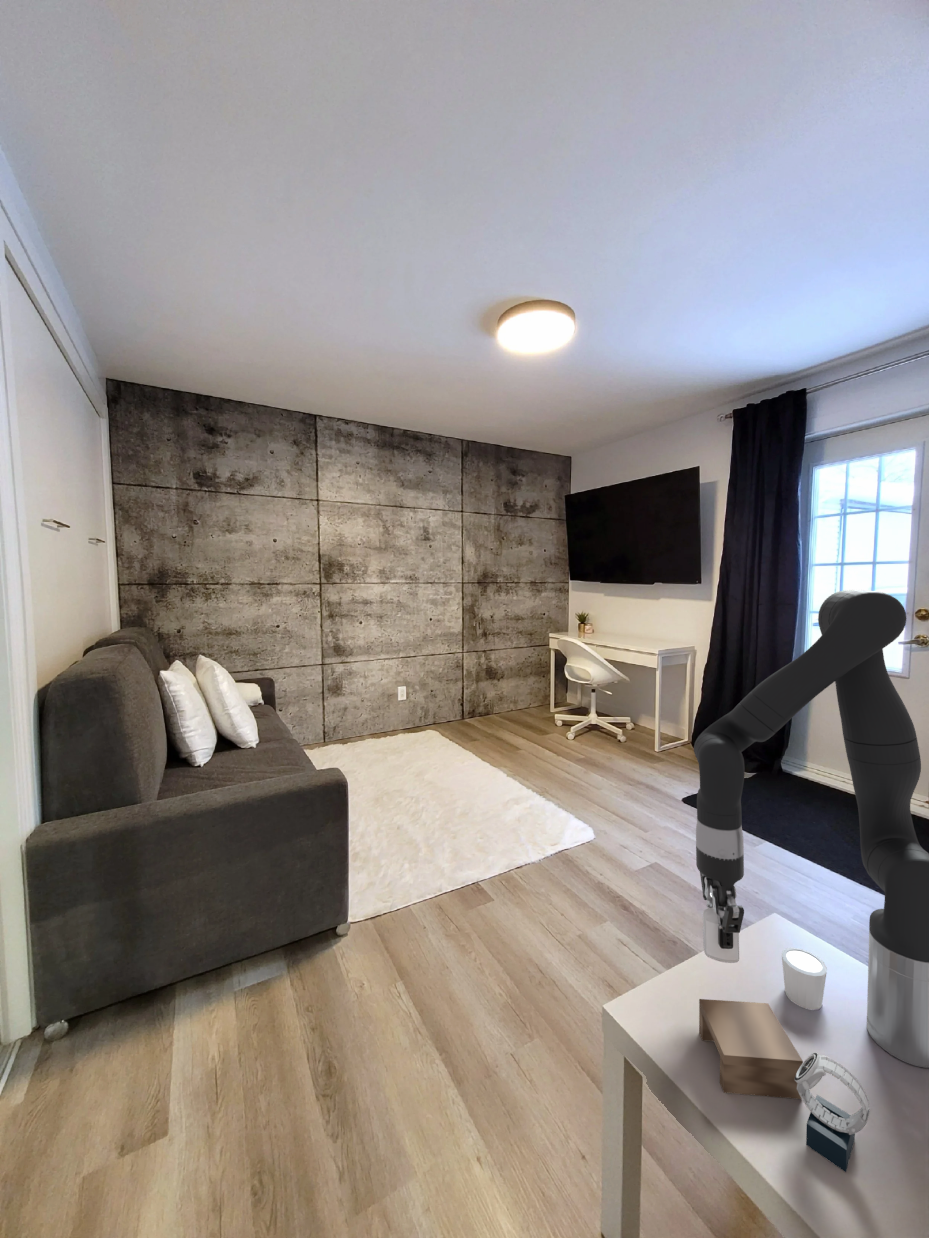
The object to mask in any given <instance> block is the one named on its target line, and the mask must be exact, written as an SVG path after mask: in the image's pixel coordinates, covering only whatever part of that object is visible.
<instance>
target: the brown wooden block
mask: <svg viewBox="0 0 929 1238" xmlns="http://www.w3.org/2000/svg"><path fill="white" fill-rule="evenodd" d="M698 1004H699V1005H698V1006H699V1008H698V1011H699V1012H698V1025H699V1026H698V1032H699V1033H698V1034H699V1035H700V1038H701V1040H702V1041H704V1042H714V1045H715V1047H716V1049H717V1052H718V1054H719V1084H720V1087H721V1089H722V1092H723V1094H724V1093H725V1094H733V1095H734V1094H737V1095H746V1096H760V1097H768V1098H769V1097H771V1098H782V1099H793V1100H795V1099H796V1100H802V1099H801V1097H800V1095H799V1092H798V1091H797V1084H798V1083H797V1082H796V1081H795V1075H796V1073H797V1071H798V1069H799V1067H800V1066H801V1065H802V1063H803V1062H804V1061H803V1059H802V1057H801V1056H800V1054H799V1052H798V1051H797V1049H796V1047H795V1045H794V1044H793V1042H792V1040H791V1038H790V1037H789V1035H788V1034H787V1032H786V1030H785V1029H784V1027H783V1025H782V1024H781V1022H780V1020H779V1018H778V1017H777V1015H776V1014H775V1012H774V1011H773V1009H772V1008H771V1006H770V1004H769V1003H767V1002H751V1001H736V1000H723V999H722V1000H720V999H705V998H699V1002H698Z"/></svg>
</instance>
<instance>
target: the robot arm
mask: <svg viewBox="0 0 929 1238" xmlns="http://www.w3.org/2000/svg"><path fill="white" fill-rule="evenodd" d="M817 617H818V618H817V621H818V627H819V630H820V633H821V636H820V637H819V638H818V639H817V640H816V641H815V642H814V643H813V644H812V645H811V646H810V647H809V648H807V650H805V651H804V652H803V653H802V654H801V655H799V656H798V657H796V658H795V659H793V660H792V661H791V662H789V663H788V664H786V665H785V666H783V667H781V668H780V669H778V670H777V671H775V672H774V673H772V674H771V675H768V676H767V678H765V679H764V680H762V681H761V682H760V683H759V684H757V685H756V686H755V687H754V688H753V689H752V690H751V691H750V692H749V693H748V694H747V695H746V696H744V697H743V698H742V700H740V702H739V703H738V704H737V705H736V706H734V708H733V709H732V710H731V711H729V712H728V713H727V714H725V715H723V716H722V717H720V718H719V719H717V720H716V721H714V722H713V723H712V724H710V725H709V726H708V727H707V728H705V729H704V730H702V732H701V733H700V734H699V735H698V736H697V738H696V740H695V742H694V746H693V753H694V756H695V757H696V761H697V763H698V769H699V789H698V791H697V794H696V795H697V796H696V815H697V816H696V826H695V857H696V859H695V860H696V868H697V870H698V872H699V874H700V883H701V890H702V897H703V900H704V901H706V909H708V908H712V907H713V909H714V911H715V912H716V914H717V919H718V944H719V946H720V947H721V948H722V949H732V948H733V933H739V934H740V932H741V929H742V925H743V924H742V923H743V919H744V914H745V909H744V906H742V905H737V903H736V898H737V889H736V885H735V884H736V883H737V882H739V881H741V880H742V879H743V877H744V875H745V863H744V862H745V861H744V855H745V854H744V852H745V851H744V850H745V849H744V832H743V828H742V827H743V826H742V803H741V802H742V801H741V800H742V795H743V790H744V789H743V788H744V783H745V772H746V771H745V759H744V756H743V753H742V752H744V751H745V750H746V749H747V748H748V747H750V746H751V745H753V744H754V743H756V742H757V743H763V742H767V740H769V739H770V738H771V737H773V736H774V735H775V734H776V733H778V731H779V730H780V729H782V728H783V727H784V726H785V725H786V724H787V723H789V721H790V720H791V719H792V718H793V717H794V716H795V715H797V714H798V713H799V712H800V711H801V710H802V709H803V708H805V706H807V704H809V703H810V702H811V701H812V700H813V699H815V698H816V697H817V696H819V694H820V693H822V692H823V691H824V690H825V689H827V688H829V686H830V685H832V684H833V683H834V684H835V691H836V697H837V704H838V711H839V715H840V721H841V728H842V729H841V730H842V738H843V742H844V747H845V752H846V753H845V754H846V758H847V761H848V762H847V763H848V765H849V766H848V767H849V769H850V776H851V781H852V786H853V790H854V795H855V799H856V804H857V808H858V809H857V810H858V821H859V823H858V824H859V836H860V838H859V840H860V854H861V860H862V864H863V867H864V869H865V870H866V873H867V874H868V876H869V877H870V878H871V880H872V881H873V882H874V883H875V884H876V885H877V886H878V887H879V888H880V889H881V890H882V891H883V892H884V903H883V908H878V909H875V910H874V911H872V912H871V913H870V916H869V922H868V923H869V924H868V925H869V927H868V930H869V931H868V961H867V963H868V966H867V967H868V968H867V995H866V996H867V1003H866V1004H867V1005H866V1030H867V1031H868V1034H869V1036H870V1037H871V1038H872V1039H873V1041H874V1042H875V1043H876V1045H878V1046H879V1047H880V1048H882V1049H883V1050H884V1051H886V1052H887V1053H888V1054H890V1055H891V1056H893V1057H895V1058H896V1059H898V1060H900V1061H902V1062H904V1063H907V1064H909V1065H911V1066H915V1067H920V1068H926V1069H927V1068H929V852H928V851H926V850H925V849H924V848H923V847H922V846H921V845H920V842H919V840H918V837H917V834H916V830H915V827H914V823H913V817H912V813H911V804H912V803H911V802H912V801H911V800H912V798H913V794H914V793H915V789H916V788H917V786H918V782H919V780H920V777H921V773H922V772H921V771H922V763H921V760H922V759H921V753H920V752H921V751H920V747H919V742H918V738H917V732H916V729H915V726H914V722H913V721H912V720H913V719H912V718H911V715H910V714H909V711H908V709H907V707H906V705H905V703H904V701H903V699H902V698H901V696H900V694H899V693H898V691H897V689H896V688H895V685H894V683H893V681H892V680H891V677H890V675H889V673H888V670H887V667H886V662H885V656H884V648H886V647H887V646H888V645H890V644H891V643H893V642H894V641H895V640H896V639H898V638H899V637H900V636H901V634H902V633H903V631H904V629H905V627H906V624H907V613H906V609H905V607H904V606H903V604H902V603H901V602H900V600H899V599H897V597H894V596H893V595H892V594H889V593H885V592H881V591H874V590H864V589H861V590H860V589H845V590H840V591H837V592H833V594H831V595H829V596H828V597H827V598H826V599H824V601H823V602H822V603H821V606H820V608H819V611H818V616H817ZM719 906H721V907H724V908H719ZM723 915H724V918H722V916H723Z"/></svg>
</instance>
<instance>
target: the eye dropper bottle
mask: <svg viewBox="0 0 929 1238" xmlns="http://www.w3.org/2000/svg"><path fill="white" fill-rule="evenodd" d="M719 908H724V907H721V906H719ZM722 918H724V915H723V916H722ZM702 928H703V929H702V931H703V932H702V934H703V935H702V937H703V938H702V939H703V953H704V955H705V956H706V957H707V958H709V959H711V960H714V961H716V962H721V963H726V964H734V963H738V962H739V961H740V933H733V948H732V949H722V948H721V947H720V946H719V944H718V919H717V914H716V912H715V911H714V909H713V907H712V908H706V909H704V910H703V912H702Z"/></svg>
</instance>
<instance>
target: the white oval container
mask: <svg viewBox="0 0 929 1238" xmlns="http://www.w3.org/2000/svg"><path fill="white" fill-rule="evenodd" d="M781 960H782V961H781V962H782V963H781V965H782V973H783V983H784V992H785V995H786V996H787V998H788V999H789V1000H790V1001H791V1002H792V1003H794V1005H797V1006H799V1007H800V1008H803V1009H806V1010H809V1011H817V1010H820V1009H821V1008H822V1007H823V999H824V994H825V987H826V978H827V974H828V972H827V971H828V967H827V965H826V963H825V962H824V961H823V960H822V959H821V958H820V957H819V956H817V955H815V954H814V953H813V952H811V951H808V950H805V949H803V948H797V947H787V948H785V949H783V950H782V953H781Z"/></svg>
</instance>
